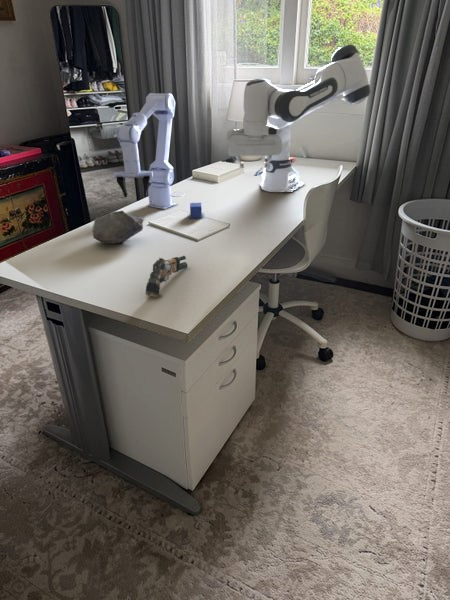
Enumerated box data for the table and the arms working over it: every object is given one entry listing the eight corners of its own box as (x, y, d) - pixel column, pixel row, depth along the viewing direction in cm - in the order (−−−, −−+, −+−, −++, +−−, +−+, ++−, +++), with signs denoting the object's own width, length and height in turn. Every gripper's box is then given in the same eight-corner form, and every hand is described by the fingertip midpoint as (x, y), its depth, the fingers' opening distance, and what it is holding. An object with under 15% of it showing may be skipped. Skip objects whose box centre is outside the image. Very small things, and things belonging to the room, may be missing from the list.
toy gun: (142, 297, 112) (143, 260, 110) (178, 282, 131) (180, 250, 128) (153, 299, 111) (154, 262, 108) (188, 284, 130) (190, 252, 127)
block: (190, 218, 169) (190, 206, 166) (191, 214, 173) (190, 202, 171) (201, 218, 169) (201, 206, 166) (201, 214, 173) (201, 202, 171)
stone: (131, 200, 152) (144, 211, 140) (139, 226, 157) (152, 240, 146) (83, 215, 146) (92, 228, 134) (93, 242, 152) (103, 257, 140)
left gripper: (109, 163, 153) (115, 199, 160) (149, 162, 154) (153, 198, 161) (113, 158, 159) (118, 194, 166) (151, 158, 160) (155, 193, 167)
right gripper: (227, 130, 151) (227, 170, 158) (283, 129, 152) (281, 168, 159) (226, 128, 156) (226, 166, 163) (280, 127, 158) (278, 165, 165)
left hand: (135, 196), depth 164 cm, fingers open, 7 cm apart
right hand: (253, 167), depth 161 cm, fingers open, 8 cm apart
